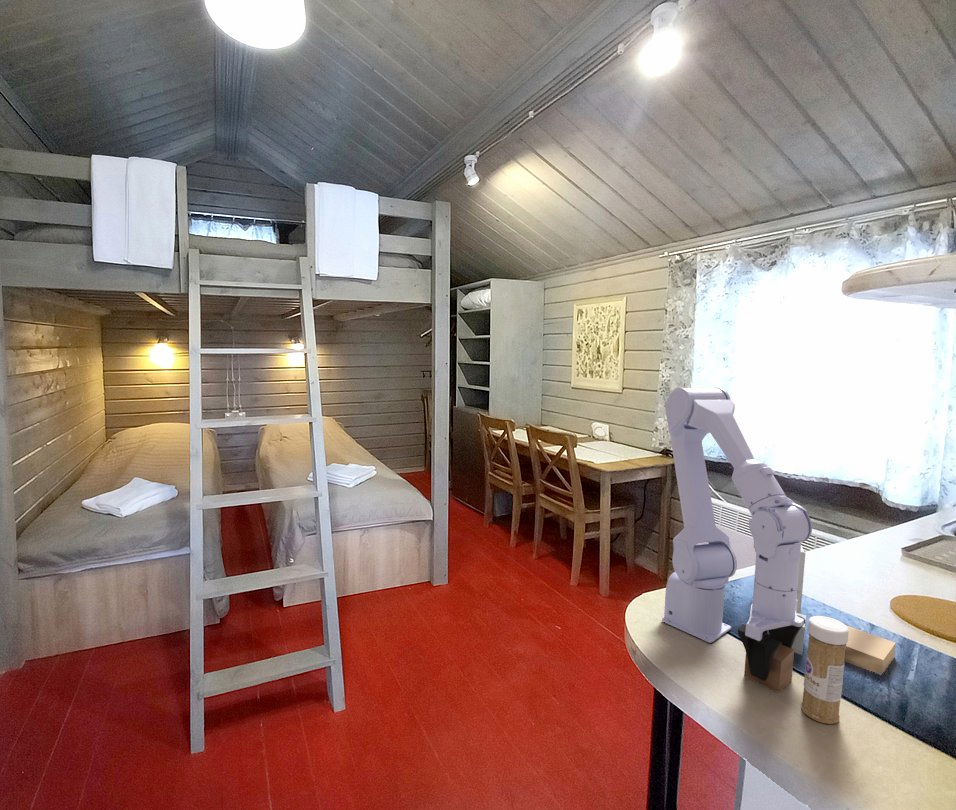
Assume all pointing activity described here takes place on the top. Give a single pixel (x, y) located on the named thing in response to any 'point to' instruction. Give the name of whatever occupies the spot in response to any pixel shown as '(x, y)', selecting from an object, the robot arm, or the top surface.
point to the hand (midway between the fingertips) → (768, 667)
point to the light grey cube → (799, 638)
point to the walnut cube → (776, 669)
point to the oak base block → (868, 650)
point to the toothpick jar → (824, 669)
